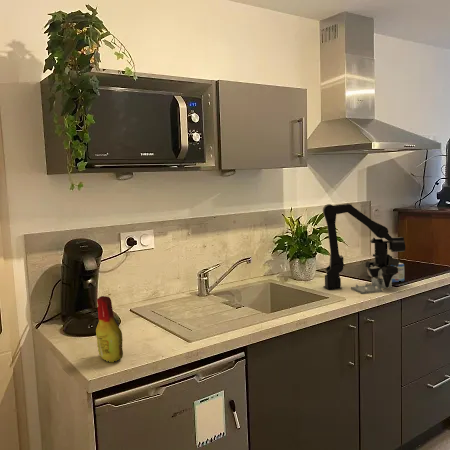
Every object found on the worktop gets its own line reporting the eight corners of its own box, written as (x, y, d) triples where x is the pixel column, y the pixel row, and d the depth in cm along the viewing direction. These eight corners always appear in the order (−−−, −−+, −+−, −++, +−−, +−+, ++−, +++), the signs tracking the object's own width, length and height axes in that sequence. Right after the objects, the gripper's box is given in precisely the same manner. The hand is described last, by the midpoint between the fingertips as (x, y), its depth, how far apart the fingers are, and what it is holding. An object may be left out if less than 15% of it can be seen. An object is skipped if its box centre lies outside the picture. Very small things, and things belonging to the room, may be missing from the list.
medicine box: (389, 282, 226) (389, 265, 225) (385, 281, 230) (384, 263, 229) (404, 281, 227) (404, 263, 226) (399, 279, 232) (399, 262, 231)
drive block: (376, 289, 215) (376, 278, 215) (371, 287, 219) (371, 277, 219) (391, 287, 217) (391, 277, 217) (386, 286, 221) (386, 275, 220)
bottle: (92, 356, 149) (87, 295, 147) (111, 351, 153) (106, 291, 151) (108, 367, 139) (103, 301, 137) (128, 361, 143) (123, 297, 141)
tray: (362, 293, 208) (362, 288, 208) (351, 289, 218) (351, 283, 218) (382, 291, 210) (382, 286, 210) (370, 286, 220) (370, 281, 220)
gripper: (408, 253, 209) (409, 287, 211) (385, 248, 227) (385, 279, 229) (386, 255, 207) (386, 290, 208) (364, 249, 225) (365, 281, 226)
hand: (381, 285), depth 218 cm, fingers open, 9 cm apart
